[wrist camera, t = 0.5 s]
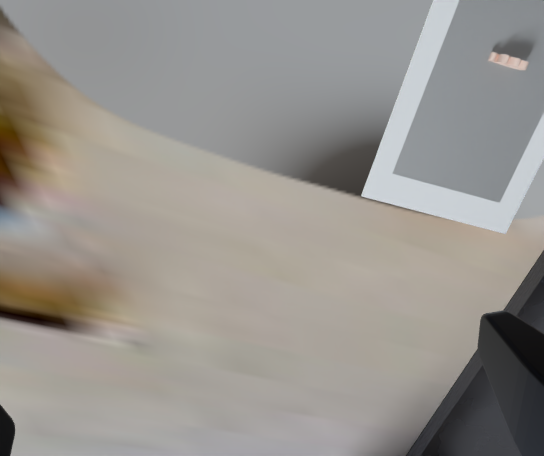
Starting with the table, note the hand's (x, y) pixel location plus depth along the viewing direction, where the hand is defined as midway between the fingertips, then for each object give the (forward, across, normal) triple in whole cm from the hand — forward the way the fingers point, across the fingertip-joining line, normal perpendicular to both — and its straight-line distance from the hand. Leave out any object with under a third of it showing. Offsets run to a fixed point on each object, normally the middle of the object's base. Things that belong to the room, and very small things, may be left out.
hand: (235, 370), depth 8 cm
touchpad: (+16, -12, 0) cm, 20 cm away
